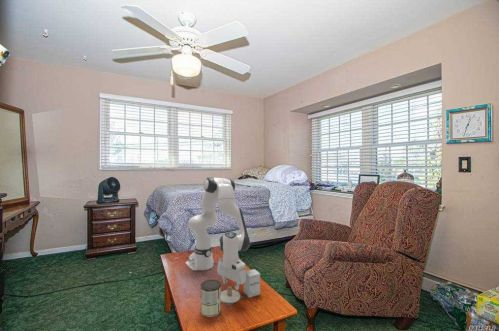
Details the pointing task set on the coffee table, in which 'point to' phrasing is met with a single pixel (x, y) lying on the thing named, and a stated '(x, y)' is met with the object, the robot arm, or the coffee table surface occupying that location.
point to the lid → (230, 295)
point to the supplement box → (252, 283)
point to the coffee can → (210, 298)
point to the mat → (235, 302)
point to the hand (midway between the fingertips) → (230, 286)
